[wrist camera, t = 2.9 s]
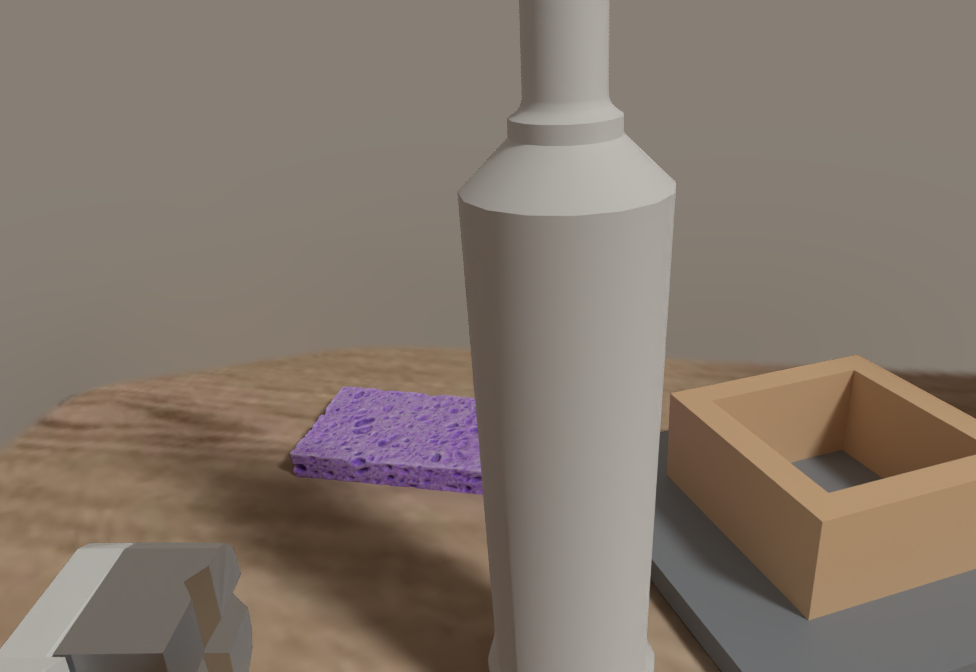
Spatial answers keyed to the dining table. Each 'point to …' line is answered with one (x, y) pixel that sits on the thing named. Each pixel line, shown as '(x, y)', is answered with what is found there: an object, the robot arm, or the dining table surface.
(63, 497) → the dining table surface
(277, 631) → the dining table surface
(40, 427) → the dining table surface
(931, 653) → the collar stand
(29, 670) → the robot arm
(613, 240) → the bottle
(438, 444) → the sponges
